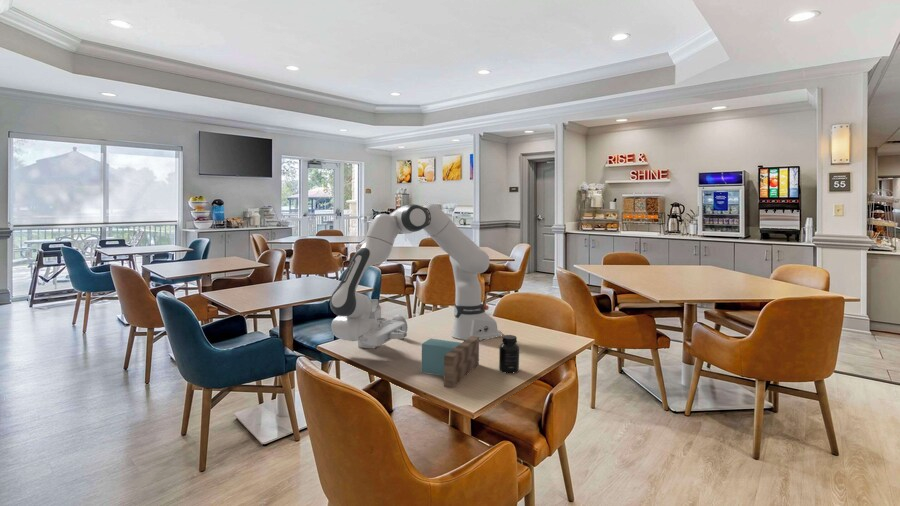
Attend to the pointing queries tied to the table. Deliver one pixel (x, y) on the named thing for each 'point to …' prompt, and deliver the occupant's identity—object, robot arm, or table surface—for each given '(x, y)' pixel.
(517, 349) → the supplement bottle
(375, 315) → the milk carton
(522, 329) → the table surface
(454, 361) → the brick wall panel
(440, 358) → the teal block
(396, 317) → the donut
